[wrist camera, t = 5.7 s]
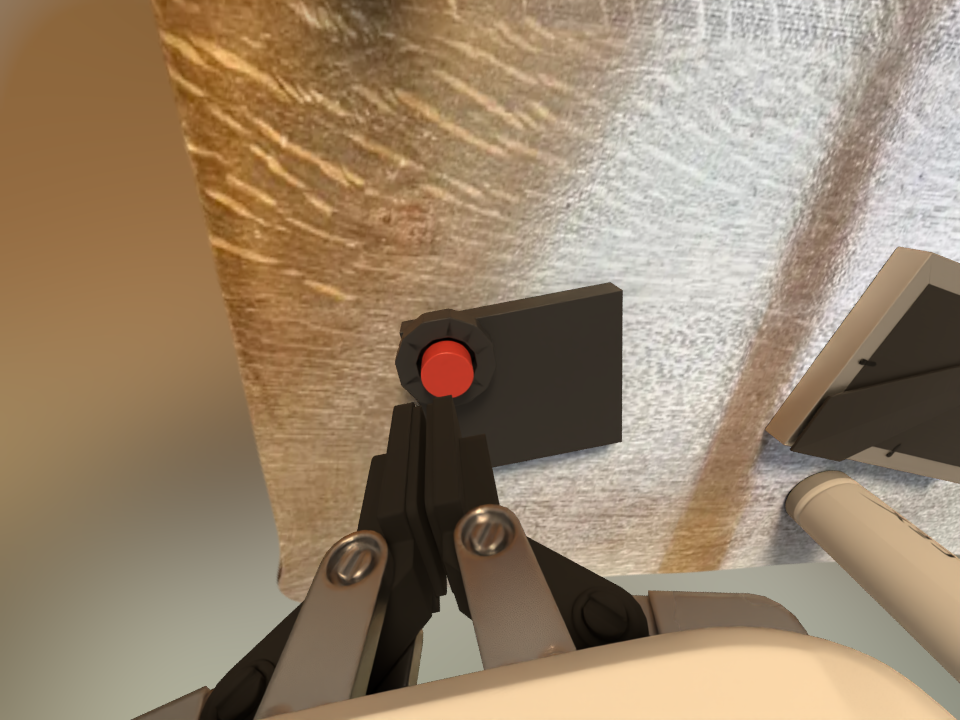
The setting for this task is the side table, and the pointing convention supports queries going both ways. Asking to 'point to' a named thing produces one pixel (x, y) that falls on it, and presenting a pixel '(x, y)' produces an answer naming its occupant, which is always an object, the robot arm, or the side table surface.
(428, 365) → the button
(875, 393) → the picture frame
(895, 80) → the side table surface
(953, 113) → the side table surface
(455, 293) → the side table surface
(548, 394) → the black base plate
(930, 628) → the travel mug
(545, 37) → the side table surface
